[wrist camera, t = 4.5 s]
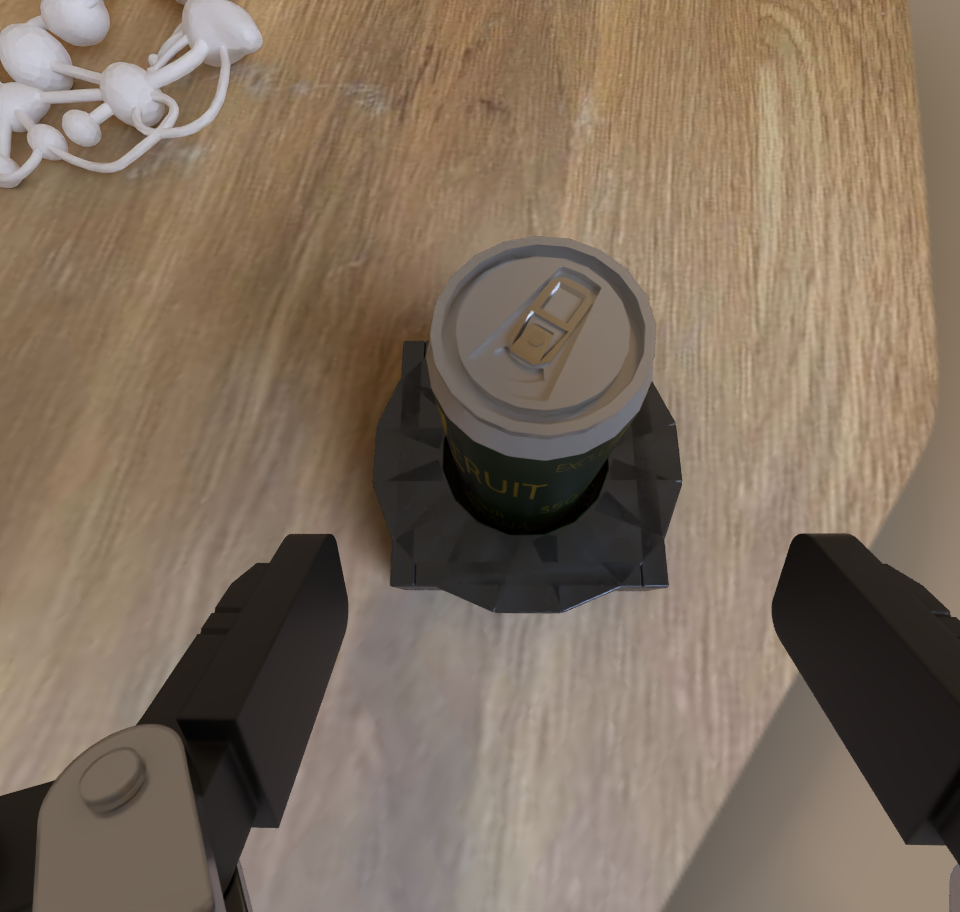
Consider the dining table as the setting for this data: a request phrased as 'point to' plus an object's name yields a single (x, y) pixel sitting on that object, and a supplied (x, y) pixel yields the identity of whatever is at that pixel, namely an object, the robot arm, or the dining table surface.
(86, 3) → the tangled rod sculpture
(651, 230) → the dining table surface
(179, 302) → the dining table surface
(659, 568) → the dark faceted ring
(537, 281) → the beer can
